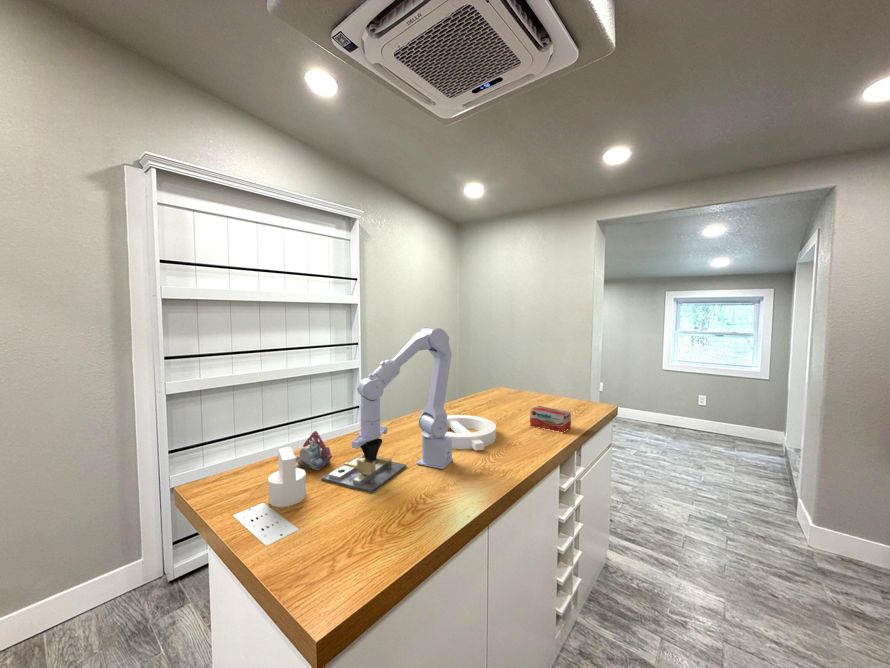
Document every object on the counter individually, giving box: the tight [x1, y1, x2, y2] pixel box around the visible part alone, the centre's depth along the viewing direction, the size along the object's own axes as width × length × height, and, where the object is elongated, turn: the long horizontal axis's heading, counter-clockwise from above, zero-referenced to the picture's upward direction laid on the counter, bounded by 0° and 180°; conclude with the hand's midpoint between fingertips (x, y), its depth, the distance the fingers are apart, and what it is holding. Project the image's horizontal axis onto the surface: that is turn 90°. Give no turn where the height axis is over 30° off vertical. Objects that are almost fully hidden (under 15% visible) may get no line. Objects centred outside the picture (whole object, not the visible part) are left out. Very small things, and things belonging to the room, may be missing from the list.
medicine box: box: [529, 405, 572, 432], centre depth 149 cm, size 15×8×8 cm, turn 49°
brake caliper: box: [295, 430, 333, 471], centre depth 110 cm, size 11×11×12 cm
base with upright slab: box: [267, 446, 307, 508], centre depth 91 cm, size 9×9×12 cm
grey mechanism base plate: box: [321, 453, 407, 494], centre depth 105 cm, size 18×18×3 cm
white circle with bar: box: [445, 414, 497, 451], centre depth 139 cm, size 28×28×5 cm
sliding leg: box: [343, 458, 375, 476], centre depth 102 cm, size 10×2×4 cm, turn 66°
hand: (370, 464), depth 103 cm, fingers closed
